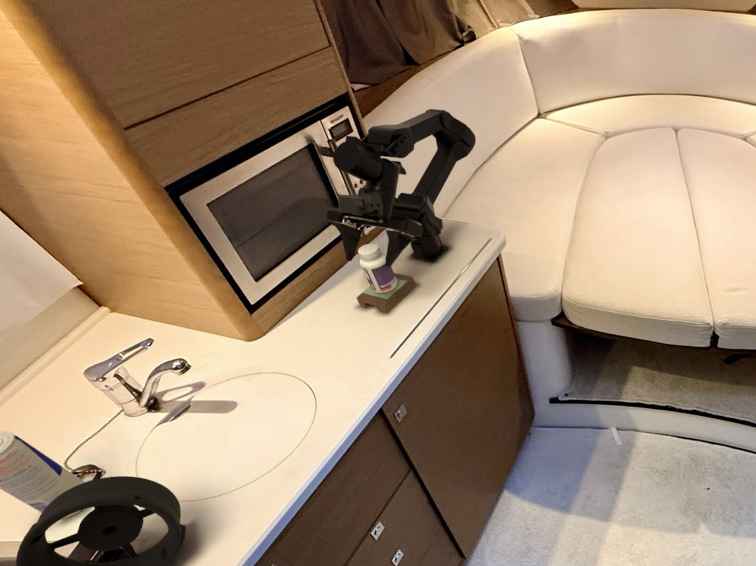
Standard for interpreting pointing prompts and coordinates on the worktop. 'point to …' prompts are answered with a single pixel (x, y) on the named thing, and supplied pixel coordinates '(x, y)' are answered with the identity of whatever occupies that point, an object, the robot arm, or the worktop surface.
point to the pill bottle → (377, 269)
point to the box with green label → (387, 294)
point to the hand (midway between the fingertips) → (368, 263)
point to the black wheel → (107, 523)
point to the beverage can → (31, 473)
